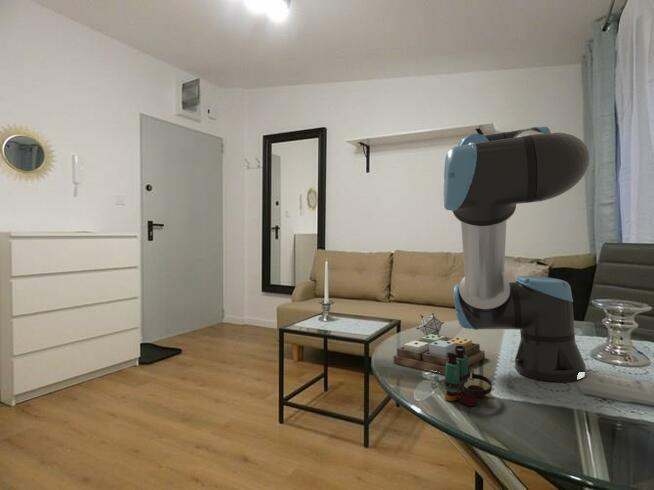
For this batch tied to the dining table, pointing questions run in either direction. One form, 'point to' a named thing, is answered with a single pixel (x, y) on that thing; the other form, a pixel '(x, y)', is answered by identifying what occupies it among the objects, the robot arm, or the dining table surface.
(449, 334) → the dining table surface
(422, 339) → the button three
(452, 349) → the button two
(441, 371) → the wooden compartment tray
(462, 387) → the binoculars
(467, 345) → the button four
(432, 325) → the game die
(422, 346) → the button one
